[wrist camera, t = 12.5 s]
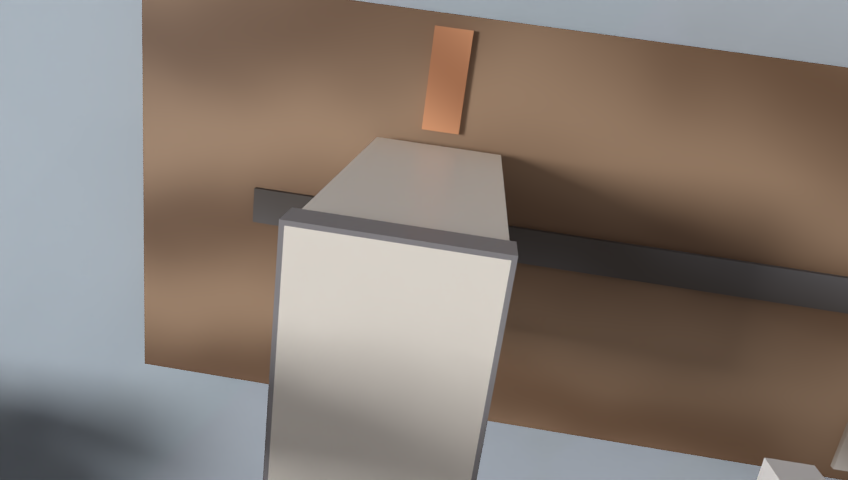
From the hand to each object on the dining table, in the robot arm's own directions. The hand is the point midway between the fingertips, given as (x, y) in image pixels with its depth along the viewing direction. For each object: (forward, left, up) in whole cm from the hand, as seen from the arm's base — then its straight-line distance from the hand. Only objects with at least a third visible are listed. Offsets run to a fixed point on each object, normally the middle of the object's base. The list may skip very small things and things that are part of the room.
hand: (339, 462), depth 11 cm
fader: (0, 0, -12) cm, 12 cm away
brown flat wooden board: (0, -6, -14) cm, 16 cm away
